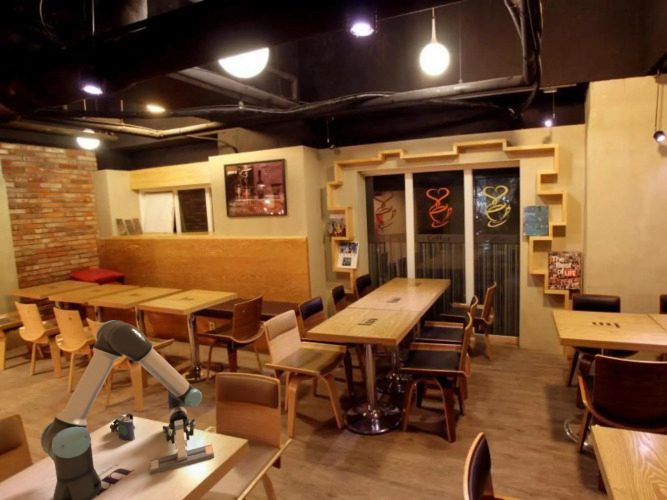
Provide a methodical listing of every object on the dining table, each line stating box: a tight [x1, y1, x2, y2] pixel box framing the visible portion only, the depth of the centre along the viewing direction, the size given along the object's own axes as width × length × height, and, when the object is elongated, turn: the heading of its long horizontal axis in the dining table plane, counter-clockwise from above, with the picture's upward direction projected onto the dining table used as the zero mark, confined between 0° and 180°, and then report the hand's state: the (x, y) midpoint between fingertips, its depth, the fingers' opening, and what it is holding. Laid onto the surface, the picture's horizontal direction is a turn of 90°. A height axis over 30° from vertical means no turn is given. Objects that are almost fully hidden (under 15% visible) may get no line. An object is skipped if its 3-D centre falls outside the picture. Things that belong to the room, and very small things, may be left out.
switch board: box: [150, 443, 215, 475], centre depth 171 cm, size 24×8×2 cm, turn 113°
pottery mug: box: [109, 412, 136, 433], centre depth 199 cm, size 12×10×8 cm
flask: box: [116, 415, 136, 442], centre depth 191 cm, size 9×3×11 cm, turn 65°
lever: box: [174, 419, 188, 461], centre depth 170 cm, size 4×6×14 cm
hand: (180, 444), depth 165 cm, fingers closed on lever, 3 cm apart
